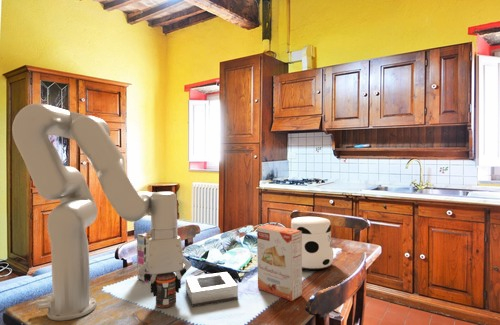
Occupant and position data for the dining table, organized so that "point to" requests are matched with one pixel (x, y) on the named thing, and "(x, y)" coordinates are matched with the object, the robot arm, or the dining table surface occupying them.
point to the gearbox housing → (211, 289)
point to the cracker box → (280, 261)
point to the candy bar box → (142, 253)
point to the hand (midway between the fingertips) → (165, 292)
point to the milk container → (314, 242)
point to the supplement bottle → (165, 290)
